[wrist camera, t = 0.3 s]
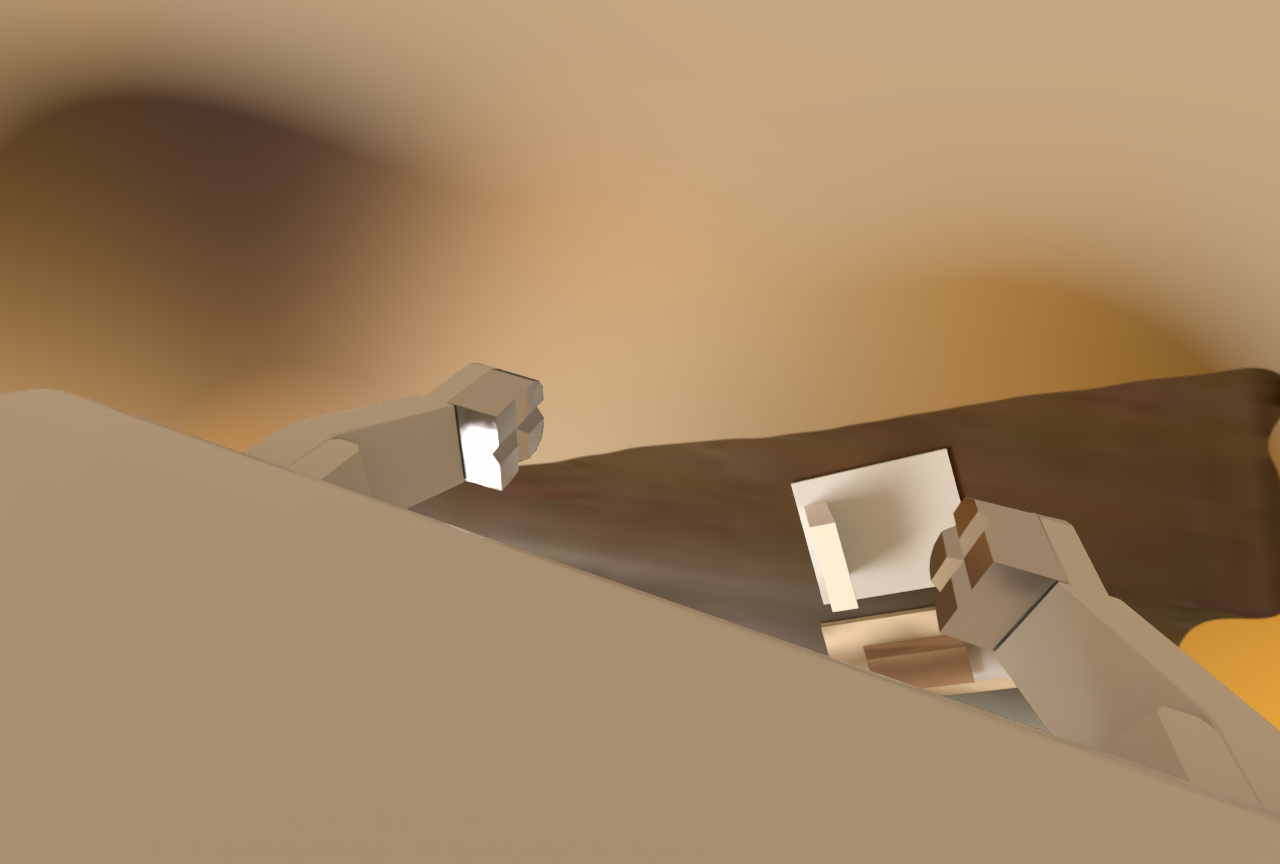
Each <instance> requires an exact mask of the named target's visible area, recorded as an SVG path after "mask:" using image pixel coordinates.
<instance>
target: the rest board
mask: <svg viewBox="0 0 1280 864" xmlns="http://www.w3.org/2000/svg"><path fill="white" fill-rule="evenodd" d="M821 628H822V632H823V636H824V639H825V643H826V647H827V650H828V654H829V657H832V658H835V659H838V660H841V661H844V662H846V663H849V664H852V665H855V666H858V667H861V668H864V669H867V670H869V668H868V664H867V660H866V657H865V653H864V649H863V646H870V645H877V644H884V643H891V642H898V641H906V640H913V639H920V638H927V637H934V636H941V635H945V634H942V633H940V632H939V626H938V620H937V614H936V609H935V606H932V607H925V608H919V609H912V610H906V611H899V612H893V613H886V614H880V615H873V616H867V617H860V618H854V619H847V620H841V621H834V622H828V623H821ZM1009 688H1018V687H1017V686H1016V685H1015V683H1014V682H1013V681H1012V679H1011V678H1010V677H1008V678H999V679H990V680H982V681H975V682H974V683H965V684H956V685H948V686H939V687H931V688H922V689H924V690H927V691H930V692H933V693H936V694H939V695H941V696H946V695H955V694H964V693H973V692H982V691H991V690H1000V689H1009Z"/></svg>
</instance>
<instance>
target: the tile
mask: <svg viewBox="0 0 1280 864" xmlns="http://www.w3.org/2000/svg"><path fill="white" fill-rule="evenodd" d="M804 509H805V512H806V516H807V520H808V523H809V527H810V531H811V534H812V538H813V542H814V545H815V549H816V553H817V556H818V560H819V564H820V567H821V571H822V575H823V578H824V582H825V585H826V589H827V593H828V596H829V600H830V604H831V607H832V611H833V612H837V611H843V610H849V609H855V608H858V605H857V604H858V603H857V600H856V596H855V592H854V589H853V585H852V581H851V578H850V574H849V570H848V567H847V563H846V559H845V556H844V552H843V548H842V544H841V541H840V537H839V533H838V530H837V526H836V523H835V521H834V519H833V517H832V515H831V513H830V510H829V508H828V506H827V504H826V502H825V503H820V504H815V505H811V506H806V507H804Z"/></svg>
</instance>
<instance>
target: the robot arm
mask: <svg viewBox="0 0 1280 864" xmlns="http://www.w3.org/2000/svg"><path fill="white" fill-rule="evenodd" d="M542 401H543V386H542V384H541V383H540V382H539V381H538V380H535V379H531V378H528V377H525V376H521V375H518V374H514V373H511V372H508V371H504V370H501V369H496V368H494V367H490V366H486V365H483V364H479V363H470V364H468V365H467V366H466V367H464V368H463V369H461V370H460V371H459V372H457V373H456V374H455V375H453V376H452V377H450V378H449V379H448V380H446V381H445V382H443V383H442V384H441V385H439V386H438V387H437V388H435V389H434V390H432V391H431V392H430V393H428V394H427V395H426V396H421V395H413V396H409V397H404V398H400V399H395V400H391V401H386V402H382V403H377V404H373V405H368V406H364V407H359V408H355V409H350V410H345V411H341V412H336V413H332V414H328V415H323V416H318V417H313V418H309V419H304V420H300V421H296V422H293V423H291V424H289V425H288V426H286V427H284V428H283V429H281V430H279V431H278V432H276V433H274V434H273V435H271V436H269V437H268V438H266V439H264V440H263V441H261V442H260V443H258V444H256V445H254V446H253V447H251V448H249V449H248V450H246V451H244V452H240V451H237V450H234V449H231V448H228V447H225V446H223V445H220V444H217V443H214V442H211V441H208V440H205V439H202V438H200V437H197V436H194V435H191V434H188V433H185V432H182V431H179V430H176V429H174V428H171V427H168V426H165V425H162V424H159V423H156V422H154V421H151V420H148V419H145V418H142V417H139V416H136V415H133V414H130V413H127V412H125V411H122V410H119V409H116V408H113V407H110V406H107V405H105V404H102V403H99V402H96V401H93V400H91V399H88V398H85V397H82V396H79V395H76V394H73V393H70V392H66V391H61V390H57V389H32V390H21V391H12V392H4V393H0V864H1280V731H1279V730H1278V729H1277V728H1276V727H1274V726H1273V725H1272V724H1271V723H1270V722H1268V721H1267V720H1266V719H1264V718H1263V717H1262V716H1261V715H1260V714H1259V713H1257V712H1256V711H1255V710H1254V709H1253V708H1251V707H1250V706H1249V705H1248V704H1246V703H1245V702H1244V701H1243V700H1242V699H1240V698H1239V697H1238V696H1237V695H1235V694H1234V693H1233V692H1232V691H1231V690H1229V689H1228V688H1227V687H1226V686H1225V685H1223V684H1222V683H1221V682H1220V681H1219V680H1217V679H1216V678H1215V677H1214V676H1212V675H1211V674H1210V673H1209V672H1208V671H1206V670H1205V669H1204V668H1203V667H1202V666H1200V665H1199V664H1198V663H1197V662H1195V661H1194V660H1193V659H1192V658H1191V657H1189V656H1188V655H1187V654H1186V653H1185V652H1183V651H1182V650H1181V649H1180V648H1178V647H1177V646H1176V645H1175V644H1174V643H1172V642H1171V641H1170V640H1169V639H1168V638H1166V637H1165V636H1164V635H1163V634H1161V633H1160V632H1159V631H1158V630H1157V629H1155V628H1154V627H1153V626H1152V625H1151V624H1149V623H1148V622H1147V621H1146V620H1145V619H1143V618H1142V617H1141V616H1140V615H1138V614H1137V613H1136V612H1135V611H1134V610H1132V609H1131V608H1130V607H1129V606H1128V605H1126V604H1125V603H1124V602H1123V601H1121V600H1120V599H1117V598H1114V597H1110V596H1108V594H1107V592H1106V590H1105V588H1104V586H1103V584H1102V582H1101V580H1100V578H1099V576H1098V574H1097V572H1096V570H1095V568H1094V566H1093V565H1092V563H1091V561H1090V559H1089V557H1088V555H1087V553H1086V551H1085V549H1084V547H1083V545H1082V543H1081V541H1080V539H1079V537H1078V535H1077V533H1076V531H1075V529H1074V527H1073V526H1072V525H1070V524H1069V523H1068V522H1066V521H1064V520H1060V519H1055V518H1051V517H1047V516H1043V515H1039V514H1035V513H1028V512H1024V511H1020V510H1017V509H1013V508H1009V507H1005V506H1001V505H997V504H993V503H989V502H985V501H981V500H977V499H973V498H969V497H966V498H965V499H964V500H963V501H962V502H961V503H960V504H959V505H958V507H957V508H956V510H955V511H954V513H953V515H954V519H955V524H956V525H955V526H953V527H951V528H948V529H946V530H943V531H942V532H941V533H940V535H939V537H938V539H937V540H936V542H935V544H934V546H933V550H932V553H931V557H930V567H929V571H930V578H931V582H932V583H933V584H934V585H935V586H936V588H937V589H938V590H939V591H940V593H939V595H938V596H937V598H936V599H935V601H934V603H935V609H936V614H937V620H938V626H939V632H940V633H942V634H945V635H948V636H951V637H953V638H956V639H959V640H962V641H965V642H968V643H971V644H973V645H976V646H979V647H982V648H985V649H988V650H991V651H993V652H994V653H993V654H994V656H995V657H996V658H997V660H998V661H999V662H1000V664H1001V665H1002V667H1003V668H1004V669H1005V671H1006V672H1007V674H1008V675H1009V676H1010V678H1011V679H1012V681H1013V682H1014V683H1015V685H1016V686H1017V687H1018V689H1019V690H1020V692H1021V693H1022V694H1023V696H1024V697H1025V699H1026V700H1027V701H1028V703H1029V704H1030V706H1031V707H1032V708H1033V710H1034V711H1035V713H1036V714H1037V715H1038V717H1039V718H1040V719H1041V721H1042V722H1043V724H1044V725H1045V726H1046V728H1047V729H1048V731H1049V732H1050V733H1048V732H1045V731H1042V730H1039V729H1036V728H1033V727H1031V726H1028V725H1025V724H1022V723H1019V722H1016V721H1013V720H1010V719H1008V718H1005V717H1002V716H999V715H996V714H993V713H990V712H987V711H985V710H982V709H979V708H976V707H973V706H970V705H967V704H964V703H962V702H959V701H956V700H953V699H950V698H947V697H944V696H941V695H939V694H936V693H933V692H930V691H927V690H924V689H921V688H918V687H916V686H913V685H910V684H907V683H904V682H901V681H898V680H895V679H893V678H890V677H887V676H884V675H881V674H878V673H875V672H872V671H870V670H867V669H864V668H861V667H858V666H855V665H852V664H849V663H846V662H844V661H841V660H838V659H835V658H832V657H829V656H826V655H823V654H821V653H818V652H815V651H812V650H809V649H806V648H803V647H800V646H798V645H795V644H792V643H789V642H786V641H783V640H780V639H777V638H775V637H772V636H769V635H766V634H763V633H760V632H757V631H755V630H752V629H749V628H746V627H743V626H740V625H737V624H734V623H732V622H729V621H726V620H723V619H720V618H717V617H714V616H712V615H709V614H706V613H703V612H700V611H697V610H694V609H691V608H689V607H686V606H683V605H680V604H677V603H674V602H671V601H669V600H666V599H663V598H660V597H657V596H654V595H651V594H648V593H646V592H643V591H640V590H637V589H634V588H631V587H628V586H626V585H623V584H620V583H617V582H614V581H611V580H608V579H605V578H603V577H600V576H597V575H594V574H591V573H588V572H585V571H582V570H579V569H576V568H574V567H571V566H568V565H565V564H562V563H559V562H556V561H553V560H550V559H548V558H545V557H542V556H539V555H536V554H533V553H530V552H527V551H524V550H521V549H519V548H516V547H513V546H510V545H507V544H504V543H501V542H498V541H495V540H493V539H490V538H487V537H484V536H481V535H478V534H475V533H472V532H469V531H466V530H464V529H461V528H458V527H455V526H452V525H449V524H446V523H443V522H441V521H438V520H435V519H432V518H429V517H426V516H424V515H421V514H418V513H415V512H412V511H409V510H407V508H409V507H411V506H413V505H415V504H417V503H420V502H422V501H424V500H426V499H428V498H430V497H433V496H435V495H437V494H439V493H441V492H443V491H445V490H448V489H450V488H452V487H454V486H456V485H458V484H461V483H463V482H464V480H467V481H470V482H474V483H477V484H480V485H484V486H487V487H491V488H494V489H497V490H501V491H502V490H503V489H504V488H505V486H506V485H507V484H508V483H509V482H510V481H511V480H512V478H513V477H514V476H515V475H516V474H517V473H518V471H519V465H518V462H521V461H524V460H527V459H529V458H530V457H531V456H532V455H533V454H534V452H535V451H536V450H537V447H538V445H539V443H540V441H541V439H542V434H543V428H544V417H543V416H542V414H541V413H540V411H539V409H538V408H537V406H538V405H539V404H540V403H541V402H542Z"/></svg>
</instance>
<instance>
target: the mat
mask: <svg viewBox="0 0 1280 864" xmlns="http://www.w3.org/2000/svg"><path fill="white" fill-rule="evenodd" d="M791 486H792V490H793V493H794V497H795V501H796V504H797V508H798V511H799V515H800V519H801V522H802V526H803V530H804V533H805V537H806V541H807V544H808V548H809V552H810V555H811V559H812V563H813V566H814V570H815V574H816V577H817V581H818V585H819V588H820V592H821V596H822V599H823V603H824V605H825V604H830V600H829V596H828V593H827V589H826V585H825V582H824V578H823V575H822V571H821V567H820V564H819V560H818V556H817V553H816V549H815V545H814V542H813V538H812V534H811V531H810V527H809V523H808V520H807V516H806V512H805V509H804V507H806V506H811V505H815V504H820V503H825V502H826V504H827V506H828V508H829V510H830V513H831V515H832V517H833V519H834V521H835V523H836V526H837V530H838V533H839V537H840V541H841V544H842V548H843V552H844V556H845V559H846V563H847V567H848V570H849V574H850V578H851V581H852V585H853V589H854V592H855V596H856V599H862V598H868V597H874V596H880V595H886V594H892V593H898V592H904V591H911V590H917V589H923V588H929V587H935V585H934V584H933V583H932V582H931V578H930V571H929V567H930V557H931V553H932V550H933V546H934V544H935V542H936V540H937V539H938V537H939V535H940V533H941V532H942V531H943V530H946V529H948V528H951V527H953V526H955V525H956V524H955V519H954V515H953V513H954V511H955V510H956V508H957V507H958V505H959V504H960V503H961V502H960V498H959V494H958V490H957V487H956V483H955V479H954V475H953V472H952V468H951V464H950V460H949V456H948V453H947V449H945V448H943V449H939V450H935V451H930V452H926V453H921V454H917V455H913V456H908V457H904V458H899V459H895V460H891V461H886V462H882V463H877V464H873V465H869V466H864V467H860V468H855V469H851V470H846V471H842V472H838V473H833V474H829V475H824V476H820V477H816V478H811V479H807V480H802V481H798V482H794V483H791Z"/></svg>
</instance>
